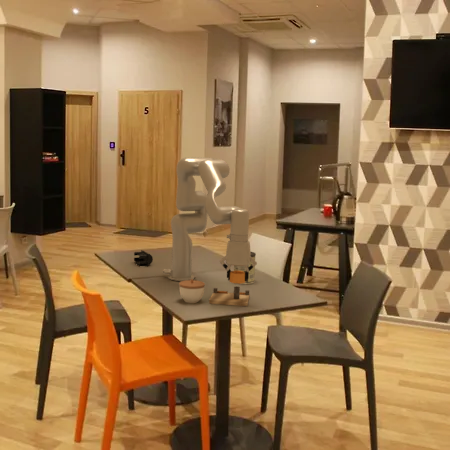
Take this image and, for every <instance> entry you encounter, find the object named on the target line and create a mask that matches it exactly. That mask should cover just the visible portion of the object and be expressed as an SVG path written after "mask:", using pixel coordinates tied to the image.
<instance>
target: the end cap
mask: <svg viewBox="0 0 450 450" xmlns="http://www.w3.org/2000/svg"><path fill="white" fill-rule="evenodd" d="M133 254H134V256H138V257H134V258H133V262H134V263H136V264H137V265H136V264H135V265H136V266H138V265H139V266H145V267H149V266H151V264H153V261H154V257H153V256H152V254H150V253H149V252H146V251H145V250H142V249H141V250H140V251H135V252H133ZM139 266H138V267H139Z"/></svg>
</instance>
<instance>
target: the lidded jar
mask: <svg viewBox="0 0 450 450" xmlns="http://www.w3.org/2000/svg"><path fill="white" fill-rule="evenodd" d="M205 285H206V284H205V282H204V281H200V280H195V279H194V280H193V279H191V280H186V281H179V283H178V286H179V289H178V290H179V294H180V297H181V298H182V300H183V301H184V302H185V303H187V304H195V303H199V302H200V300H201V299H202V298H203V296H204V293H205Z"/></svg>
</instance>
